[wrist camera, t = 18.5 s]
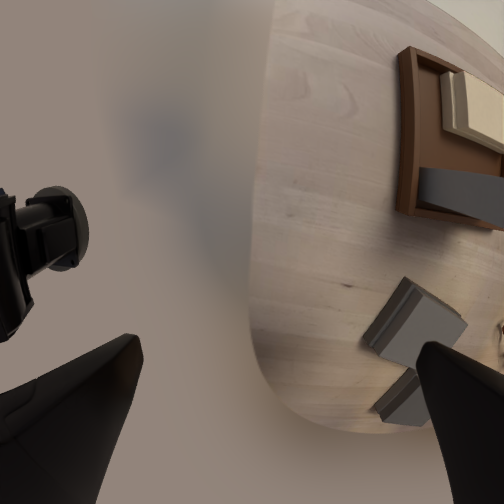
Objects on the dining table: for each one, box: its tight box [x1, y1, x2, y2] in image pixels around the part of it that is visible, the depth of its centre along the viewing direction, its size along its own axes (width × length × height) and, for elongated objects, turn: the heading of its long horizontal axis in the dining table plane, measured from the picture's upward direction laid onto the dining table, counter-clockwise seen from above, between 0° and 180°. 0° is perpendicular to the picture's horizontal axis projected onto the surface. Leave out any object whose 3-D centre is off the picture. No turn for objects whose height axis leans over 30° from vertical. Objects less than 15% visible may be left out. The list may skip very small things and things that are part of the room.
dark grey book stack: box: [375, 368, 430, 427], centre depth 23 cm, size 8×6×3 cm
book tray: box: [395, 46, 504, 231], centre depth 16 cm, size 13×13×2 cm
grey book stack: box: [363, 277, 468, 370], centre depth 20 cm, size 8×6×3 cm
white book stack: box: [440, 71, 504, 154], centre depth 14 cm, size 8×5×3 cm, turn 87°
